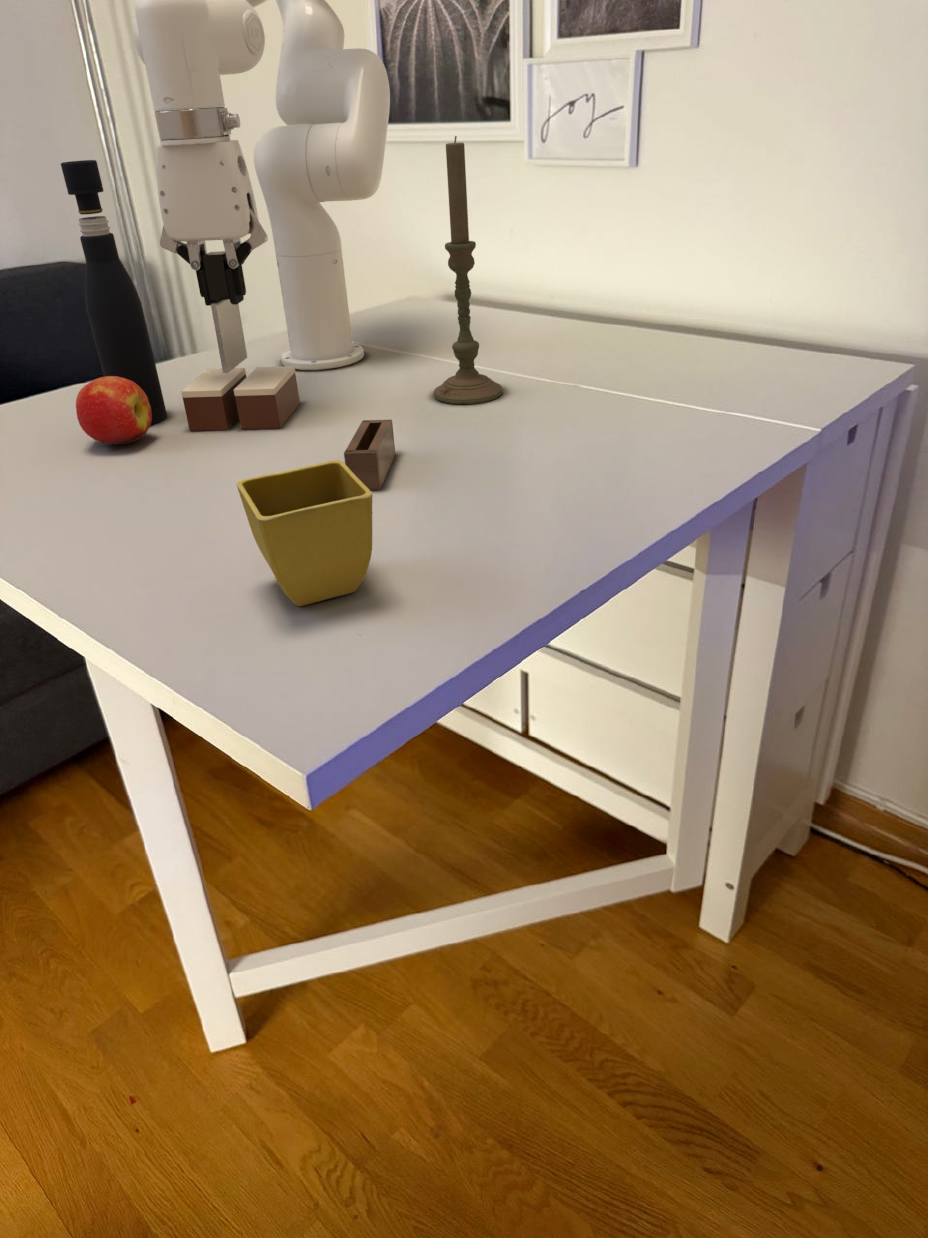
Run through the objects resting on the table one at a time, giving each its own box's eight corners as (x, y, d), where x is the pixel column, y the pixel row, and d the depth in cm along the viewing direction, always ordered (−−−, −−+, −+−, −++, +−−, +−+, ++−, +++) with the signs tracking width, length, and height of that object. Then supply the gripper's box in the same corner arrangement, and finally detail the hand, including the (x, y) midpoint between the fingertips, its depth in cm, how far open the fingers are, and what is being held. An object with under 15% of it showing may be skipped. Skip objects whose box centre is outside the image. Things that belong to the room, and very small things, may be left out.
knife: (236, 357, 115) (217, 248, 109) (254, 357, 115) (236, 248, 108) (215, 373, 108) (194, 257, 102) (235, 372, 108) (214, 257, 101)
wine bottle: (152, 428, 113) (88, 162, 98) (106, 427, 115) (36, 165, 99) (176, 412, 119) (118, 157, 103) (132, 411, 120) (69, 160, 105)
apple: (130, 456, 104) (113, 388, 100) (70, 453, 107) (51, 386, 103) (169, 434, 111) (154, 369, 107) (111, 431, 113) (94, 367, 109)
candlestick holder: (513, 386, 120) (506, 131, 105) (486, 407, 113) (474, 137, 98) (452, 381, 124) (436, 134, 108) (421, 401, 116) (400, 140, 101)
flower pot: (278, 626, 69) (257, 518, 64) (254, 579, 76) (234, 479, 71) (386, 598, 72) (374, 493, 67) (353, 555, 79) (340, 458, 74)
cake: (215, 406, 120) (208, 368, 117) (251, 405, 119) (245, 367, 117) (189, 430, 111) (180, 391, 109) (228, 429, 111) (220, 389, 108)
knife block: (366, 454, 101) (362, 419, 99) (395, 453, 100) (392, 419, 98) (348, 490, 92) (343, 453, 90) (380, 489, 91) (376, 452, 89)
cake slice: (263, 404, 119) (257, 366, 117) (300, 403, 119) (294, 365, 116) (240, 429, 111) (233, 389, 108) (280, 428, 110) (273, 388, 108)
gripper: (274, 122, 101) (298, 293, 110) (136, 131, 103) (172, 299, 112) (254, 125, 95) (282, 306, 104) (109, 134, 96) (148, 312, 105)
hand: (224, 301), depth 108 cm, fingers closed on knife, 2 cm apart
